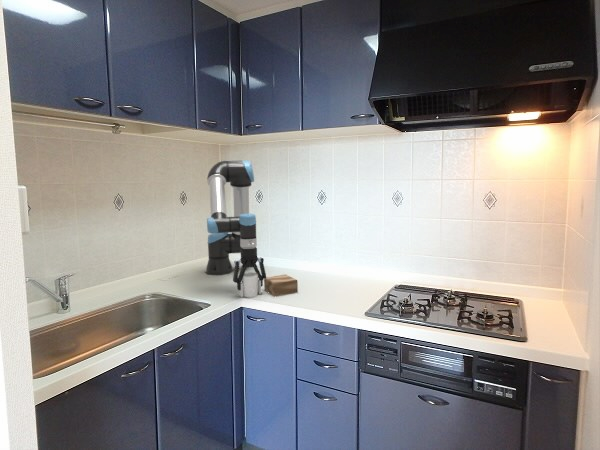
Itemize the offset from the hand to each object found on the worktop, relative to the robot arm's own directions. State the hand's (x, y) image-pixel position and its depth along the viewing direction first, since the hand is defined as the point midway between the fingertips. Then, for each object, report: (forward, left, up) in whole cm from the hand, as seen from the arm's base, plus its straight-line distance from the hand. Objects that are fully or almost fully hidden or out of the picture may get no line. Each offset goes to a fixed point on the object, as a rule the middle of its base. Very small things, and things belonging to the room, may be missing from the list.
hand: (250, 294), depth 181 cm
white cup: (0, 0, -1) cm, 1 cm away
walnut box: (+2, +15, 0) cm, 15 cm away
